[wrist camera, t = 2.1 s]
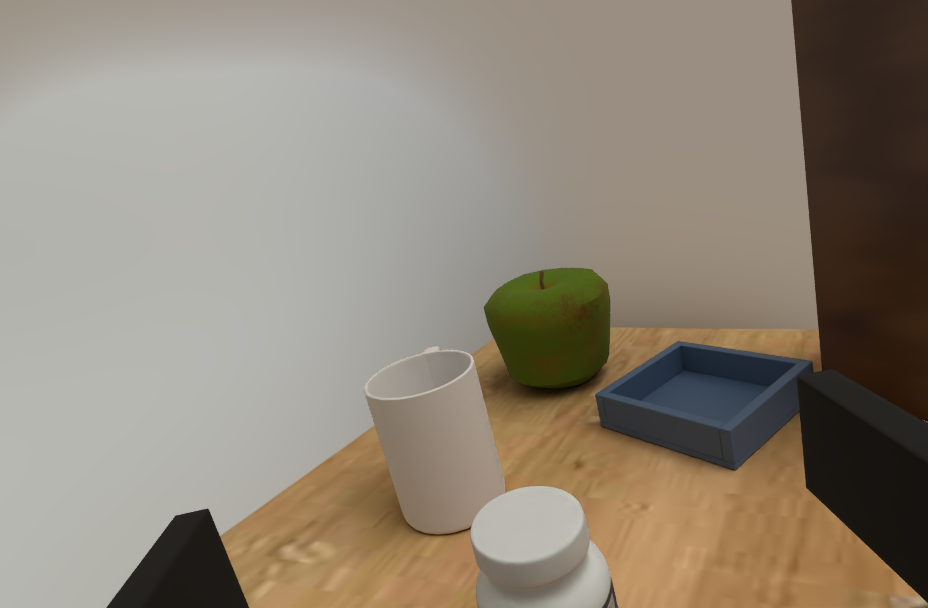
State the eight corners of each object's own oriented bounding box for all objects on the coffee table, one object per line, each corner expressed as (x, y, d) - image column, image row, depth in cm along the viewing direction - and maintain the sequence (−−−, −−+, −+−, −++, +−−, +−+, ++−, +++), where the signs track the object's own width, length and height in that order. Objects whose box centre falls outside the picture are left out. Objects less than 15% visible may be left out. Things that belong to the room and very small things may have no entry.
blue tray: (815, 396, 44) (812, 360, 43) (735, 470, 38) (730, 431, 37) (682, 370, 53) (677, 340, 53) (601, 426, 47) (594, 394, 47)
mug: (509, 525, 38) (472, 383, 35) (396, 545, 39) (352, 409, 36) (503, 435, 50) (476, 323, 47) (417, 452, 51) (384, 344, 48)
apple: (497, 367, 65) (474, 273, 62) (602, 342, 65) (584, 246, 62) (511, 416, 53) (483, 302, 50) (640, 385, 52) (619, 268, 50)
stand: (1030, 371, 40) (1043, -226, 31) (987, 436, 35) (987, -257, 26) (868, 350, 49) (839, -128, 39) (813, 401, 43) (766, -136, 34)
